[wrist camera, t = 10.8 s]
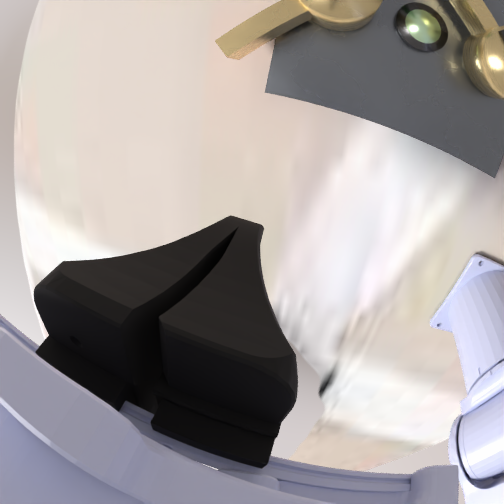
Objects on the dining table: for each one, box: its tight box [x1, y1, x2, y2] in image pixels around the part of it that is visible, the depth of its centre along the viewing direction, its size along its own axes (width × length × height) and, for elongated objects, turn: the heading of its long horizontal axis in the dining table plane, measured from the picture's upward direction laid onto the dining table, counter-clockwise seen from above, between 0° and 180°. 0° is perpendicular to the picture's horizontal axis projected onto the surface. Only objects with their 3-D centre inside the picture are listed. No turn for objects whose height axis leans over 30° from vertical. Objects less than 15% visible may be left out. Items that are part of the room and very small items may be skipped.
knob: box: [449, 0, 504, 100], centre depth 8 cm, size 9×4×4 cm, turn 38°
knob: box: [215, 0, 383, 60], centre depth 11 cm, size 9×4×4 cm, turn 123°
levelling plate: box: [265, 0, 504, 178], centre depth 11 cm, size 16×14×2 cm
